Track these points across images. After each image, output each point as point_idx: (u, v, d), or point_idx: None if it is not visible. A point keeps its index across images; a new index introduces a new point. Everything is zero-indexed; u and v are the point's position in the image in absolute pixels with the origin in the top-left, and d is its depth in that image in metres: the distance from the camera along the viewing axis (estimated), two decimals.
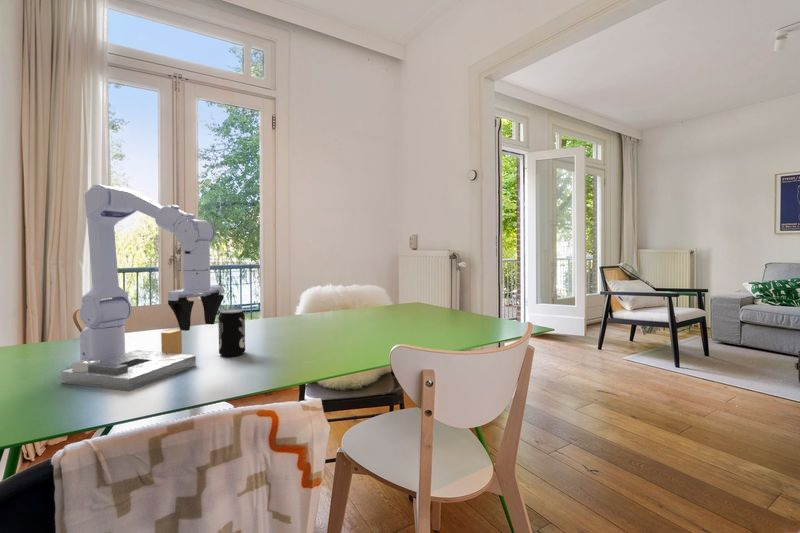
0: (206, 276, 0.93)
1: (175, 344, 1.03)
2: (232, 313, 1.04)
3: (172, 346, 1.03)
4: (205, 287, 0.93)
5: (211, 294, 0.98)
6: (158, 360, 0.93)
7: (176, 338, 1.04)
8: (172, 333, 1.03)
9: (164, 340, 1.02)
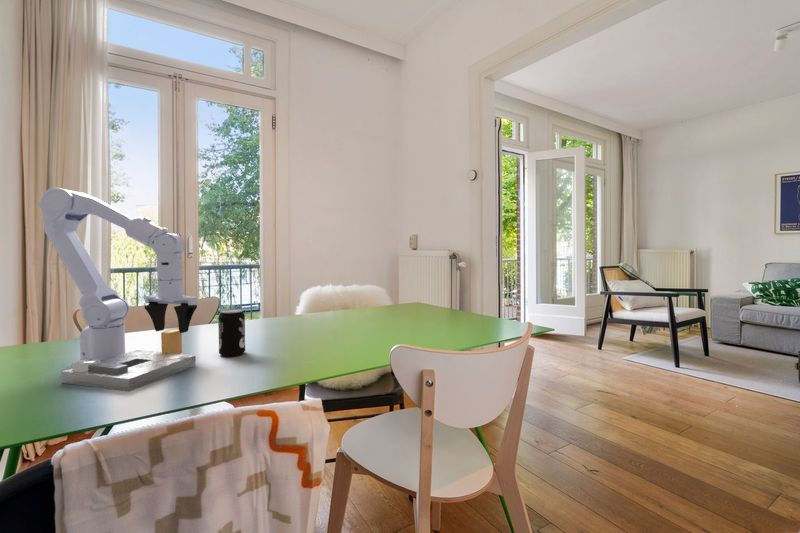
0: (160, 285, 1.00)
1: (175, 344, 1.03)
2: (232, 313, 1.04)
3: (172, 346, 1.03)
4: (160, 296, 1.01)
5: None
6: (158, 360, 0.93)
7: (176, 338, 1.04)
8: (172, 333, 1.02)
9: (164, 340, 1.02)
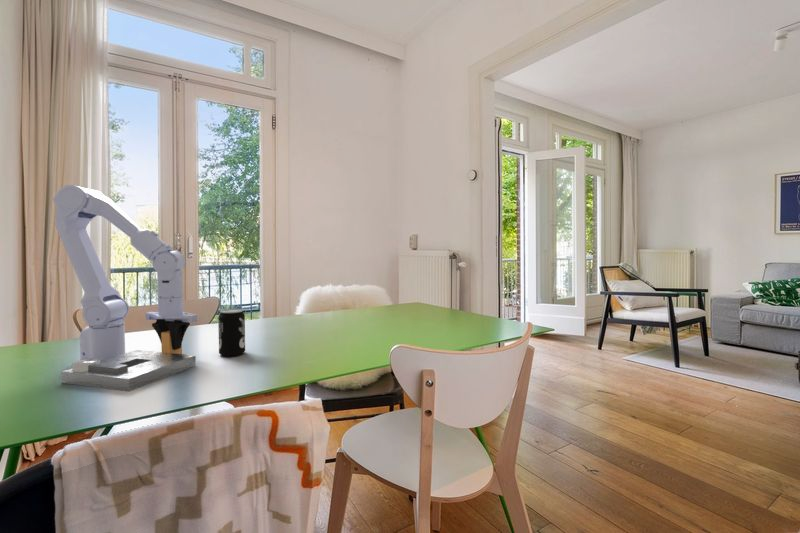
0: (161, 303, 1.01)
1: None
2: (232, 313, 1.04)
3: None
4: (160, 313, 1.01)
5: None
6: (158, 360, 0.93)
7: None
8: None
9: (164, 340, 1.02)
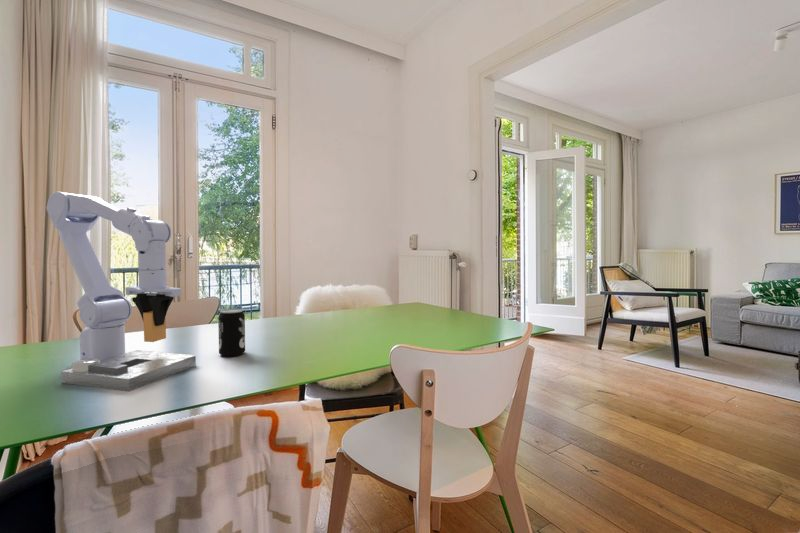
0: (142, 275, 0.94)
1: None
2: (232, 313, 1.04)
3: (155, 327, 0.96)
4: (141, 286, 0.94)
5: None
6: (158, 360, 0.93)
7: None
8: None
9: (146, 321, 0.96)
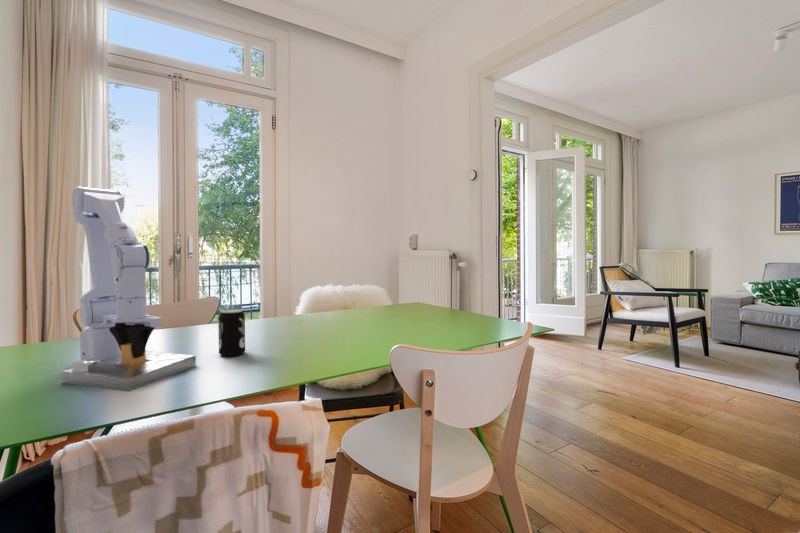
0: (119, 304, 0.87)
1: (137, 358, 0.90)
2: (232, 313, 1.04)
3: (133, 361, 0.90)
4: (118, 316, 0.88)
5: None
6: (158, 360, 0.93)
7: None
8: None
9: (124, 354, 0.89)
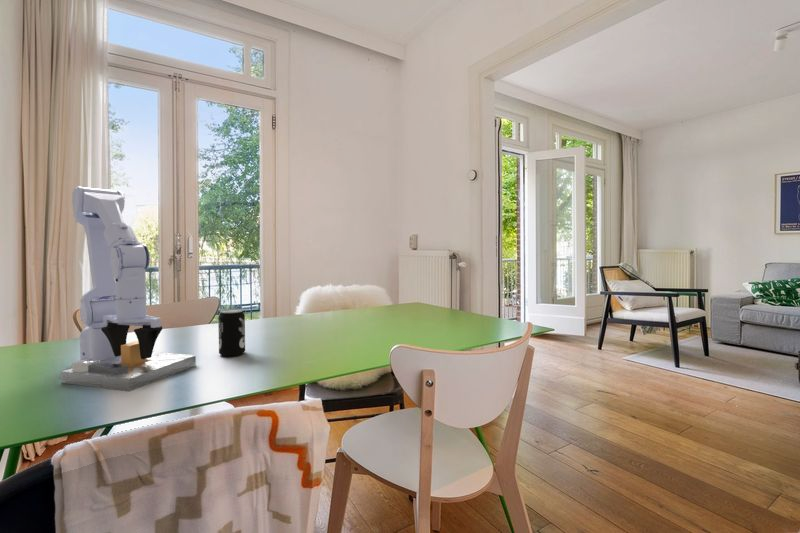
0: (119, 305, 0.87)
1: (137, 358, 0.90)
2: (232, 313, 1.04)
3: (133, 361, 0.90)
4: (118, 317, 0.88)
5: None
6: (158, 360, 0.93)
7: (139, 351, 0.91)
8: (133, 346, 0.90)
9: (124, 354, 0.89)
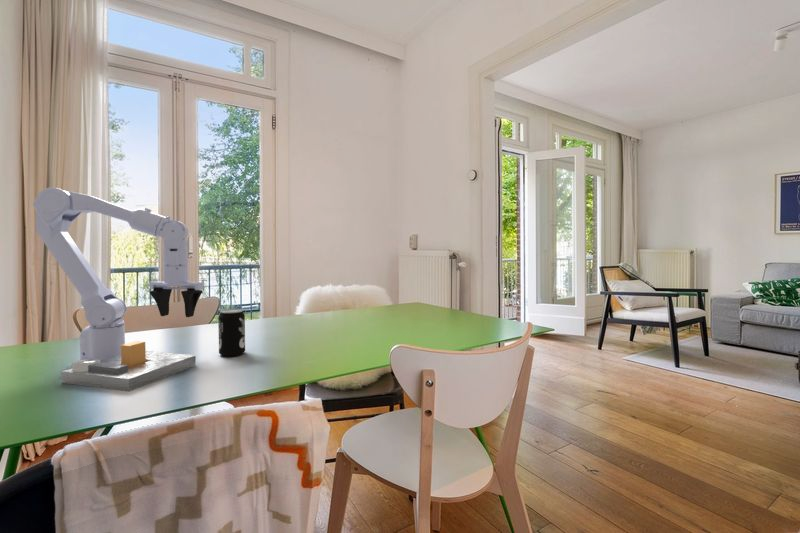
0: (167, 271, 1.03)
1: (137, 358, 0.90)
2: (232, 313, 1.04)
3: (133, 361, 0.90)
4: (167, 281, 1.03)
5: None
6: (158, 360, 0.93)
7: (139, 351, 0.91)
8: (133, 346, 0.90)
9: (124, 354, 0.89)
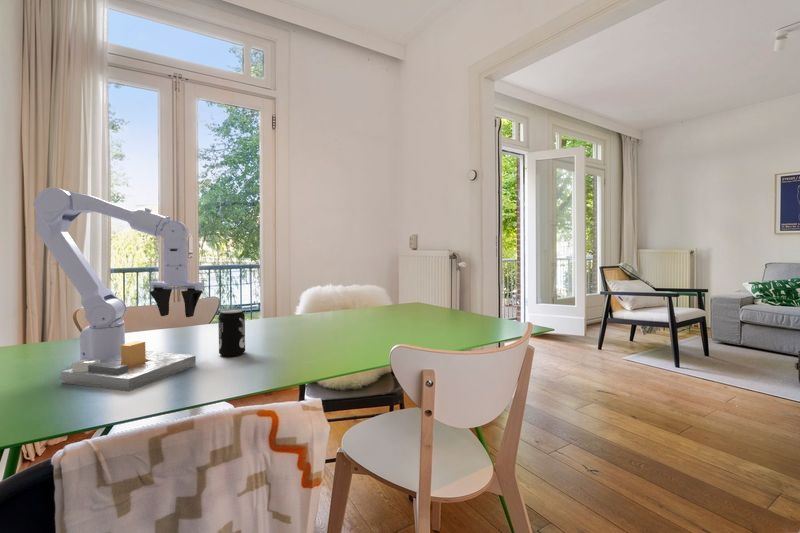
0: (167, 271, 1.03)
1: (137, 358, 0.90)
2: (232, 313, 1.04)
3: (133, 361, 0.90)
4: (167, 281, 1.03)
5: None
6: (158, 360, 0.93)
7: (138, 351, 0.91)
8: (133, 346, 0.90)
9: (124, 354, 0.89)
